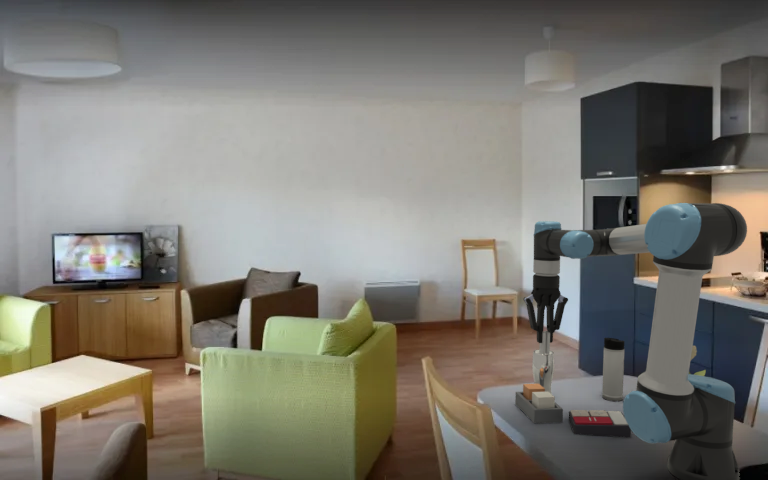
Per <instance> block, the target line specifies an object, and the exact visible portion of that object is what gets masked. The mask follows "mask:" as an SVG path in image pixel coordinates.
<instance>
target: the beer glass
mask: <svg viewBox="0 0 768 480" xmlns="http://www.w3.org/2000/svg"><path fill="white" fill-rule="evenodd" d="M554 352H555V351H552V350H550V355H547V354H545V355H542V354H541V353H539V349H534V350H533V352H532V361H531V362H532V364H531V365H532V367H531V368H532V369H531V370H532V376H533V381H534V383H533V384H540V385H541V386H542V387H543V388H545V392H547V391H548V392H549V393H551V394H552V395H553V393H552V383H553V382H552V381H553V377H554V371H555V353H554Z"/></svg>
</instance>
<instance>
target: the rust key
mask: <svg viewBox="0 0 768 480" xmlns="http://www.w3.org/2000/svg"><path fill="white" fill-rule="evenodd" d="M522 392H523V396H524V397H525V398H526V399H527V400H532V392H545V388H543V387H542V386H541V385H540V384H534V383H523V384H522Z"/></svg>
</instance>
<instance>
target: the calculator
mask: <svg viewBox="0 0 768 480" xmlns="http://www.w3.org/2000/svg"><path fill="white" fill-rule="evenodd" d="M568 421H569V425H570V427H571V430H572V432H573V434H574V435H580V436H592V437H593V436H595V437H596V436H597V437H598V436H602V437H604V436H605V437H614V438H625V439H631V437H632V433H631V432H632V430H631V429H630V427H629V425H628V423H627V422H626V419H625V417H624V412H622V411H621V410H619V411H618V410H607V411H606V410H602V409H601V410H600V409H599V410H597V409H596V410H595V409H593V410H592V409H591V410H587V409H581V410H580V409H571V410H570V411H568Z"/></svg>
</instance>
